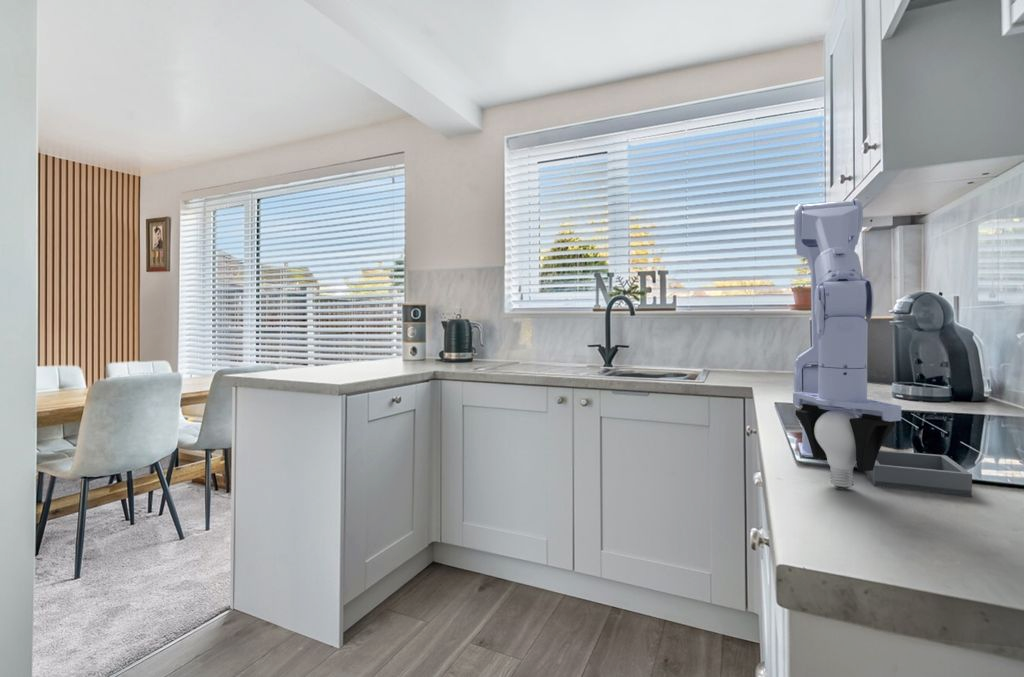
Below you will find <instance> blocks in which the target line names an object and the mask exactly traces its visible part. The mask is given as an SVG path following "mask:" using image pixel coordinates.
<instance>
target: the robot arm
mask: <svg viewBox="0 0 1024 677" xmlns="http://www.w3.org/2000/svg"><path fill="white" fill-rule="evenodd" d="M793 217H794V218H793V223H794V224H793V225H794V226H793V231H794V232H793V233H794V249H795V250H796V255H798V256H800V257H802V258H805V259H806V260H807V264H808V266H809V271H810V298H811V299H810V303H811V305H810V306H811V310H810V312H811V317H810V318H811V347H809V348H808V349H807V350H805V351H804V352H802V353H800V354H799V355H798V356H796V359H795V360H794V368H793V393H792V403H793V404H792V405H793V406H796V407H800V406H801V408H800V409H795V416H796V418H797V419H798V421H799V422H800V424H801V426H802V431H801V432H802V433H801V434H802V439H801V440H802V441H801V442H798V444H797V446H798V450H799V453H801V454H800V456H801V455H802V456H801V457H803V456H809V457H808V458H812V459H815V460H820V459H824V458H827V457H826V454H825V452H824V450H823V449H822V448H821V446H820V445H819V444H818V442H817V440H816V438H815V435H814V426H815V423H816V421H817V419H818V418H819V417H820V416H821V415H822V414H824V413H826V412H828V411H831V410H843V411H846V412H848V413H849V414H855V415H857V416H861V417H860V418H852V419H850V420H849V422H850V424H851V427H852V430H853V434H854V438H855V444H856V464H855V466H856V469H857V471H859V472H863V473H865V471H872V470H873V469H874V465H875V462H876V458H877V456H878V453H879V450H881V447H882V445H883V443H884V442H885V440H886V439H887V437H888V435H889V434H890V432H891V431H892V430H893V428H894V427H895V425H896V422H900V421H902V405H900V404H892V403H887V402H882V401H878V400H873V399H870V398H868V335H869V334H868V333H869V332H868V330H869V329H868V328H869V327H868V326H869V325H868V322H870V321H871V320H872V316H873V312H874V305H875V297H874V296H875V295H874V288H873V284H872V281H871V279H870V278H868V276H866V275H865V276H863V271H862V267H861V261H860V257H859V255H858V252H856V248H857V245H858V243H859V239H860V236H861V232H862V229H863V221H864V208H863V202H862V201H861V200H860V199H858V198H854V199H852V200H842V201H832V202H824V203H823V202H822V203H820V202H819V203H812V204H810V203H809V204H798V205H797V206H796V207H795V208H794V216H793ZM865 318H866V319H865Z"/></svg>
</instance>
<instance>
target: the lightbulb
mask: <svg viewBox="0 0 1024 677" xmlns="http://www.w3.org/2000/svg"><path fill="white" fill-rule="evenodd" d="M852 418H861V417H860V415H855V414H849V413H848V412H846V411H843V410H831V411H828V412H826V413H824V414H822V415H821V416H820V417H819V418H818V419H817V421H816V423H815V426H814V435H815V438H816V440H817V442H818V444H819V445H820V446H821V448H822V449H823V450H824V452H825V454H826V457H827V459H826V460H827V463H828V466H829V467H830V468H829V469H830V472H829V473H830V484H831V485H833V486H834V487H836V488H837V489H839V490H847V489H849V488H852V487H854V467H855V466H856V444H855V438H854V434H853V430H852V427H851V424H850V422H849V420H850V419H852Z"/></svg>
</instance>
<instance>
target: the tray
mask: <svg viewBox="0 0 1024 677" xmlns="http://www.w3.org/2000/svg"><path fill="white" fill-rule="evenodd" d="M864 473H865V475H866V476H867V478H868V480H869V481H870V482H871V485H873V486H874V487H877V488H886V489H887V488H888V489H893V490H895V489H896V490H904V491H913V492H923V493H929V494H930V493H933V494H941V495H952V496H958V497H959V496H961V497H966V498H972V497H973V474H972V473H971V472H969V471H968V470H967V469H965V468H964V467H963V466H961V465H960V464H958V463H957V462H956V461H954V460H953V459H952V458H951V457H949V456H948V455H947V454H946V455H945V454H944V455H943V454H933V453H919V452H909V451H897V450H896V451H895V450H886V449H885V450H884V449H883V450H882V449H880V450H879V453H878V456H877V458H876V462H875V465H874V469H873V470H872V471H865V472H864Z"/></svg>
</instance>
